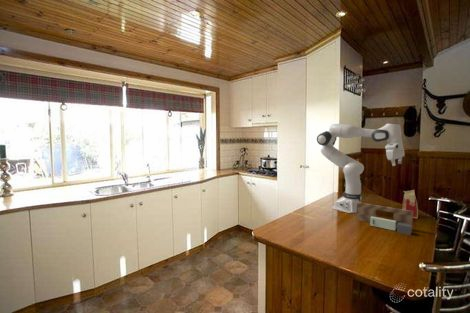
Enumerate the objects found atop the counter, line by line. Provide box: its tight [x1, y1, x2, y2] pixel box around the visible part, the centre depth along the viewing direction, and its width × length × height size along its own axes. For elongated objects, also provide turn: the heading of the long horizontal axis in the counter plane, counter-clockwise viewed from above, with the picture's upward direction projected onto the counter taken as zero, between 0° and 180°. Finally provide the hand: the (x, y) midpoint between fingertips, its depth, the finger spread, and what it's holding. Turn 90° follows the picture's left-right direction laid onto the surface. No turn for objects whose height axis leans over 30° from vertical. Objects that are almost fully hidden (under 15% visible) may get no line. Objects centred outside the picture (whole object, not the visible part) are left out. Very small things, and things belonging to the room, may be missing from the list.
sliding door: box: [369, 216, 397, 231], centre depth 155 cm, size 14×4×6 cm, turn 49°
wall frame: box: [355, 202, 414, 229], centre depth 160 cm, size 32×2×12 cm, turn 49°
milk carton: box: [401, 189, 419, 219], centre depth 176 cm, size 9×9×20 cm
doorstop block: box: [396, 222, 413, 236], centre depth 147 cm, size 7×5×5 cm
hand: (397, 164), depth 168 cm, fingers open, 8 cm apart
